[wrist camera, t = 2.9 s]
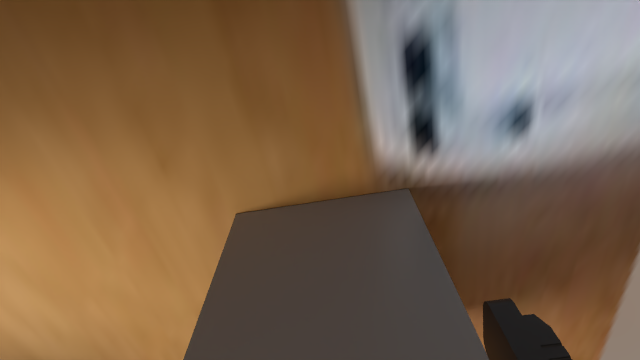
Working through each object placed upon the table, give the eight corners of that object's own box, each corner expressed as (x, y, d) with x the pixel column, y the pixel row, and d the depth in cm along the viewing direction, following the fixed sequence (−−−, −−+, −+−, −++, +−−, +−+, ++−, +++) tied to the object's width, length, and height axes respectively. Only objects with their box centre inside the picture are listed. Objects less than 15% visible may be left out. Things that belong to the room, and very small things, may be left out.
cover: (272, 337, 18) (243, 572, 11) (236, 213, 15) (161, 418, 8) (418, 318, 17) (490, 549, 10) (408, 188, 15) (498, 379, 7)
